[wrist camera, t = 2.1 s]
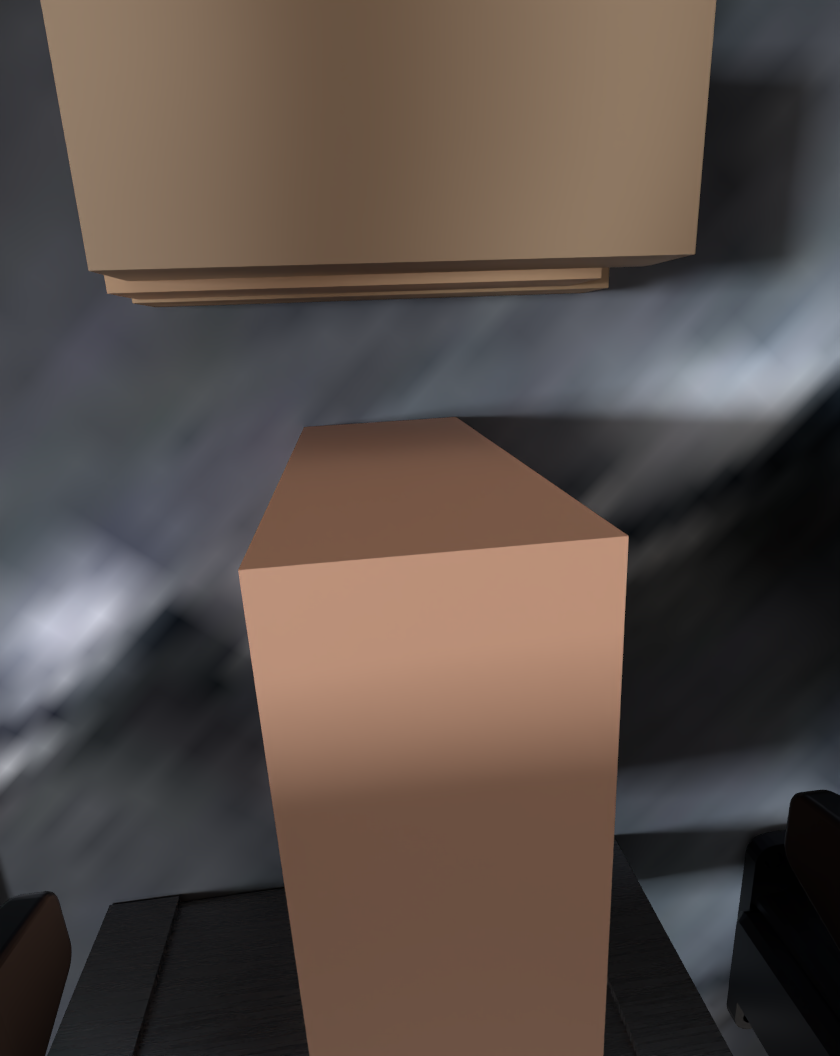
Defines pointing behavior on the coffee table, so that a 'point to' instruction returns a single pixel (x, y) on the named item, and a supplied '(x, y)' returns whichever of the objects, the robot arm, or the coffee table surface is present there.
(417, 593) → the terracotta panel
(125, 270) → the offcut stack
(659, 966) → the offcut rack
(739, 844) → the coffee table surface
